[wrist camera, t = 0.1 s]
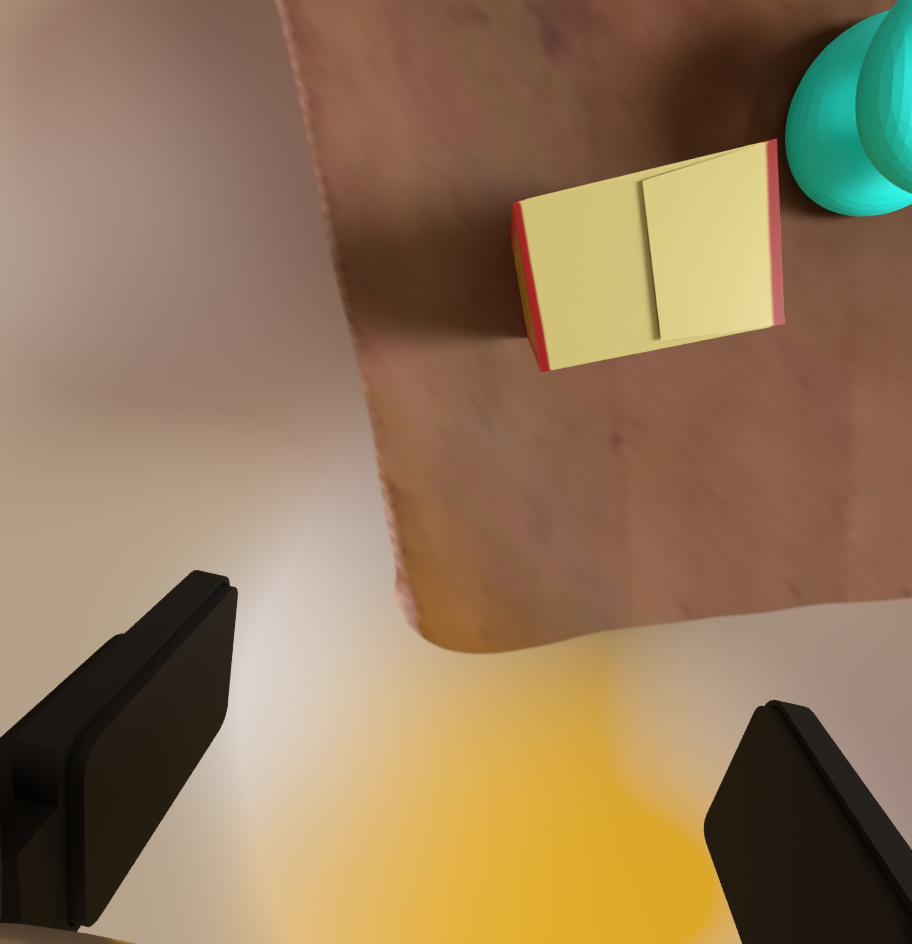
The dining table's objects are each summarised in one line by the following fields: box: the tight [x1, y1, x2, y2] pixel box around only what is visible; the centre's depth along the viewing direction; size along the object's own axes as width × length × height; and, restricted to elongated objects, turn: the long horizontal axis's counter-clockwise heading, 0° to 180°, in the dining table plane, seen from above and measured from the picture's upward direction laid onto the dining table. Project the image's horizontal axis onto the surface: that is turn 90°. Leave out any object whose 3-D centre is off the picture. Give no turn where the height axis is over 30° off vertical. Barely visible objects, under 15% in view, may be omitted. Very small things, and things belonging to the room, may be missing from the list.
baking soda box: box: [510, 139, 785, 372], centre depth 29 cm, size 10×6×16 cm
